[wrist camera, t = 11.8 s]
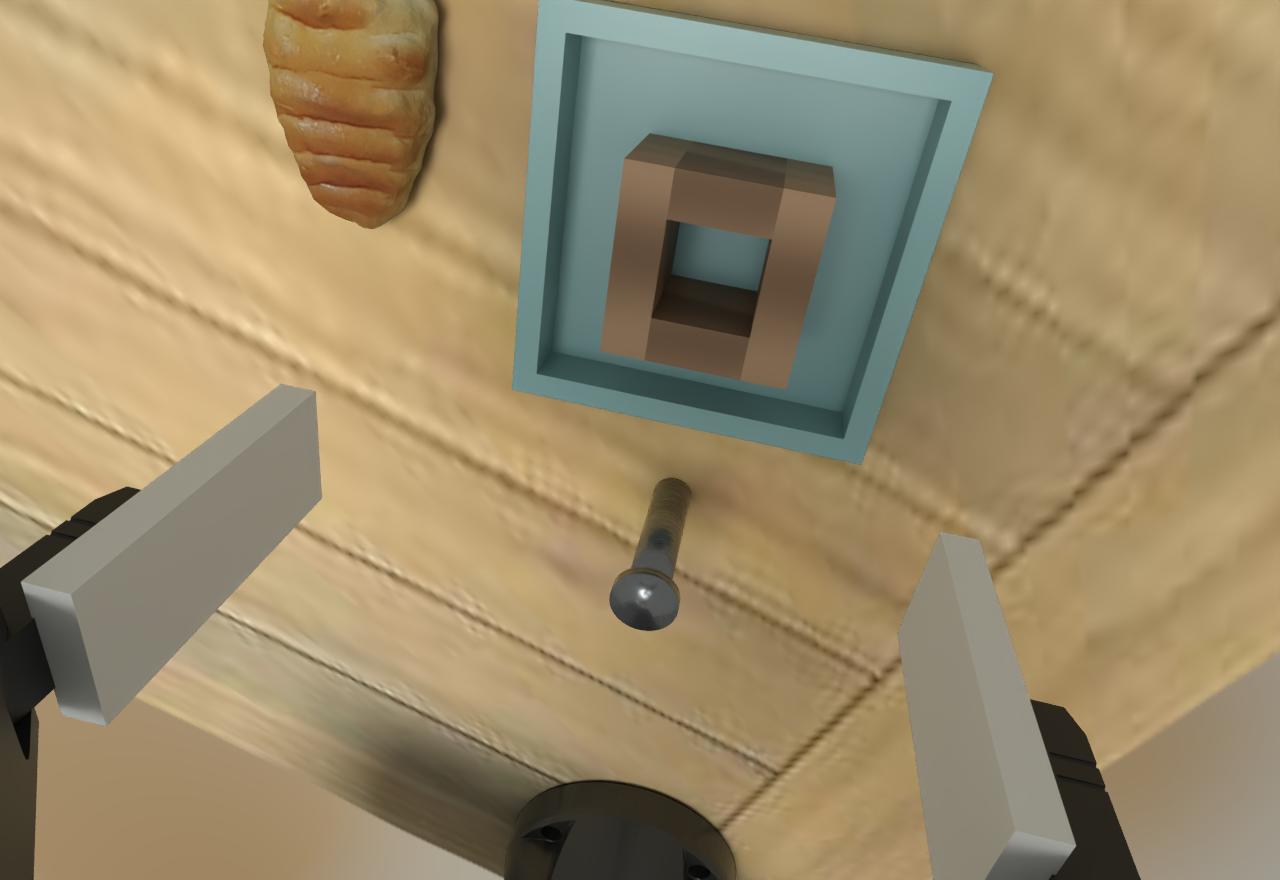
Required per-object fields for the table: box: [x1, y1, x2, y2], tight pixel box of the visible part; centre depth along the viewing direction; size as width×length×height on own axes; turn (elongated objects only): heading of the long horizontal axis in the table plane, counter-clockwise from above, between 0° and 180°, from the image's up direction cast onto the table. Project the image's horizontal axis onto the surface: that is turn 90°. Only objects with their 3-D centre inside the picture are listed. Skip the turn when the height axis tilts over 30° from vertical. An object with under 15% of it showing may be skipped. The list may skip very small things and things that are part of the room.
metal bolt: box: [610, 478, 691, 631], centre depth 36 cm, size 3×3×8 cm
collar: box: [600, 133, 836, 390], centre depth 30 cm, size 7×7×5 cm
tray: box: [512, 0, 994, 465], centre depth 32 cm, size 15×15×3 cm
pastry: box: [263, 0, 439, 229], centre depth 32 cm, size 9×7×4 cm
